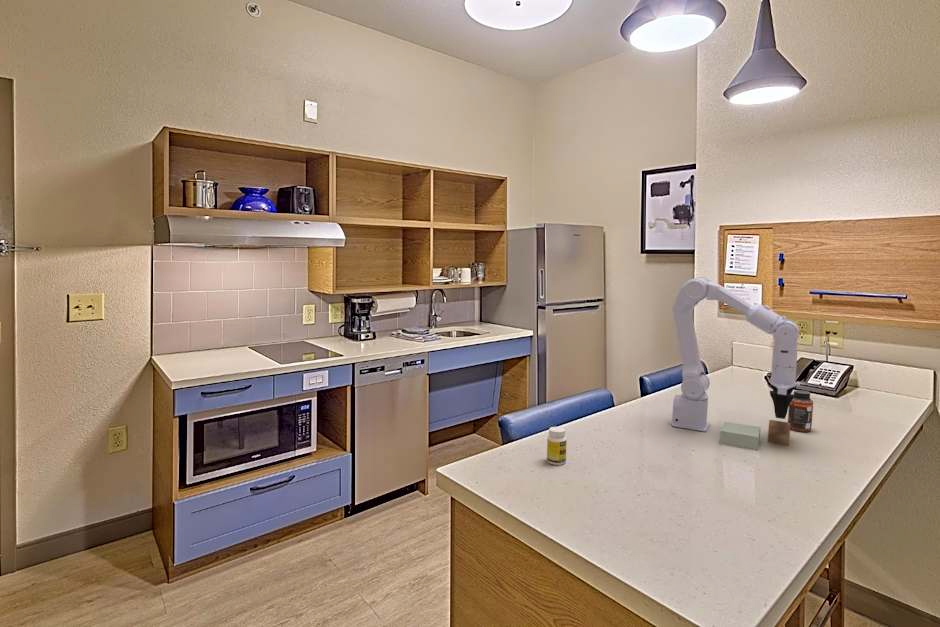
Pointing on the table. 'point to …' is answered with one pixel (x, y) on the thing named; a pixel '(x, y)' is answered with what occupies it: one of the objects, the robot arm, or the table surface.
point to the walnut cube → (779, 432)
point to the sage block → (740, 435)
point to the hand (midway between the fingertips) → (780, 414)
